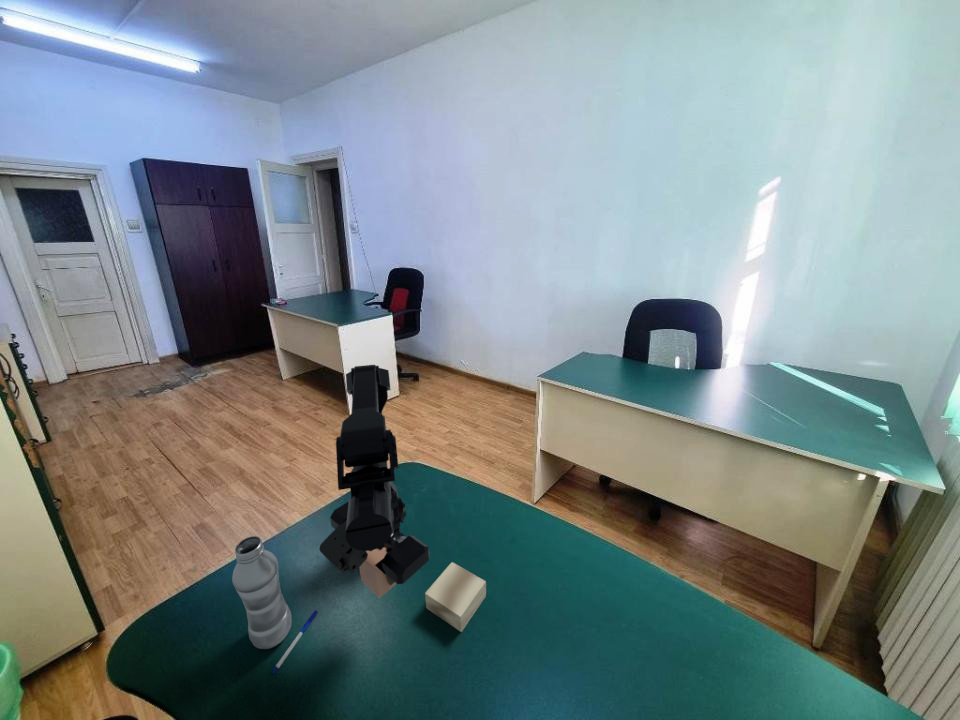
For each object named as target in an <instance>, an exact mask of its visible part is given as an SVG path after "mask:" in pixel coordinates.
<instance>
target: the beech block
mask: <svg viewBox="0 0 960 720" xmlns="http://www.w3.org/2000/svg"><path fill="white" fill-rule="evenodd" d="M486 596H487V582H486V580H485V579H482V577H479V576H478V575H475V574H474V573H473V572H470V571H468V570H467V569H465V568H463V567H461V566H460V565H458V564H456V563H455V562H452V561H451V563H450V564H449V565H448V566H447V567H446V568H445V569H444V570H443V571H442V573H441V574H440V575H439V576H438V578H436V580H435V581H434V582H433V583H432V584H431V586H429V588H428V589H427V590H426V591H425V592H424V597H425V606H426V607H425V608H426V609H427V610H428V611H430V612H431V613H433V614H434V615H435V616H437V617H439V618H440V619H441V620H443V621H444V622H446V623H448V624H449V625H450V626H451V627H453V628H454V629H456V630H457V631H459V632H460V633H462V632H463V631H464V629H465V628H466V626H467V625H468V624H469V621H470V620H471V619H472V618H473V616H474V615H475V613H476V612H477V610H478V609H479V607H480V606H481V604H482V603H483V601H484V600H485V598H486Z"/></svg>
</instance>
